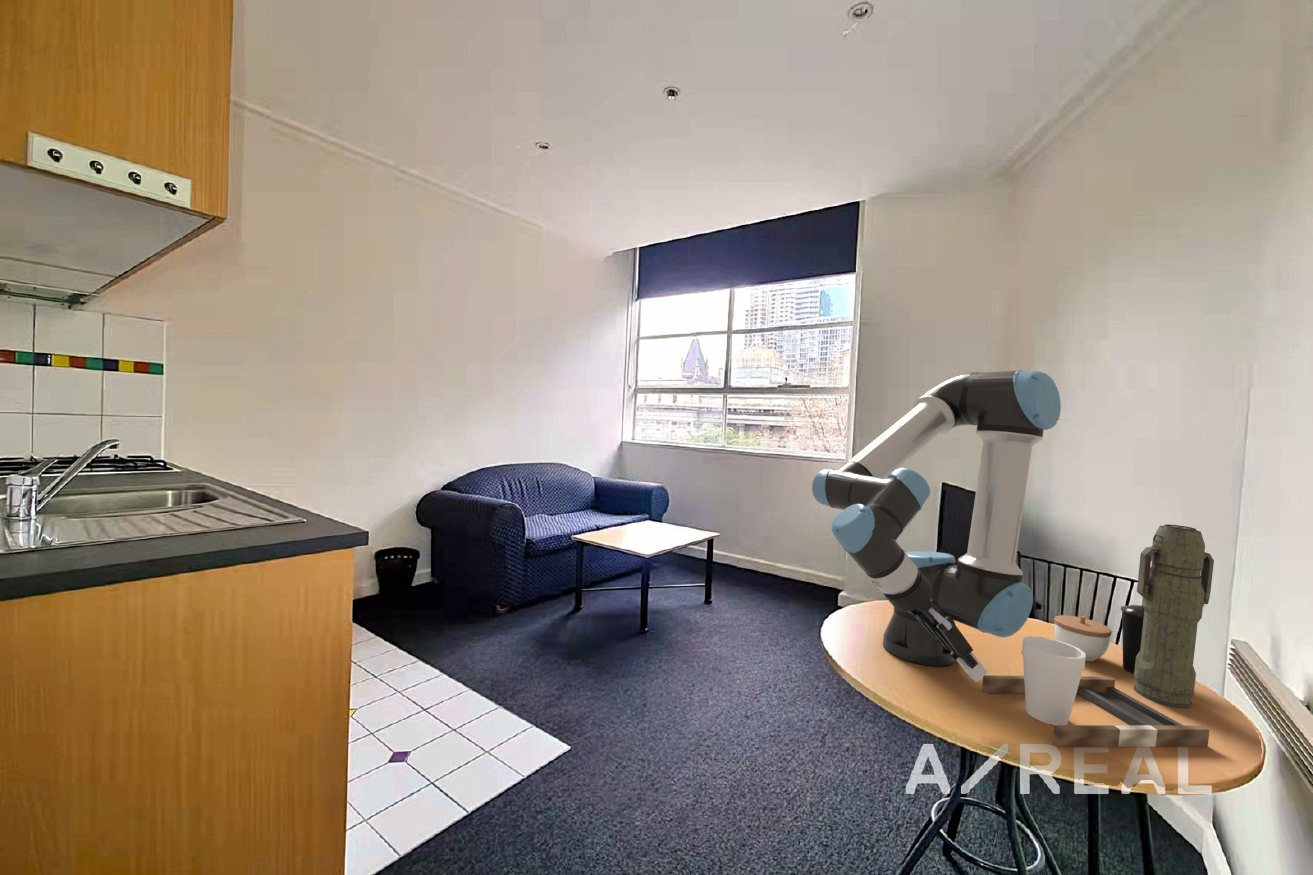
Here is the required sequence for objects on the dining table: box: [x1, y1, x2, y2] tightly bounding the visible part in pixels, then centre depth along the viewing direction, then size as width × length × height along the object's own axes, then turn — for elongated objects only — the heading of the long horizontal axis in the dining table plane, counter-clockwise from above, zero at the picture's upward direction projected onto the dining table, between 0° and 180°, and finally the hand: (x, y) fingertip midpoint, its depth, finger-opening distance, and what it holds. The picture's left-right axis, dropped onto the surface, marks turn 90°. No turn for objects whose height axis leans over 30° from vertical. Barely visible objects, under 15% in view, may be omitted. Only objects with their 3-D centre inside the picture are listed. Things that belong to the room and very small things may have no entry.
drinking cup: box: [1120, 598, 1144, 675], centre depth 121 cm, size 8×8×20 cm
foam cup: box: [1021, 635, 1086, 726], centre depth 100 cm, size 10×9×13 cm
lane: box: [981, 674, 1210, 748], centre depth 101 cm, size 28×18×3 cm, turn 96°
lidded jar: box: [1053, 614, 1113, 662], centre depth 129 cm, size 11×11×9 cm
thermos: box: [1133, 524, 1215, 709], centre depth 110 cm, size 9×12×35 cm
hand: (979, 675), depth 98 cm, fingers closed
